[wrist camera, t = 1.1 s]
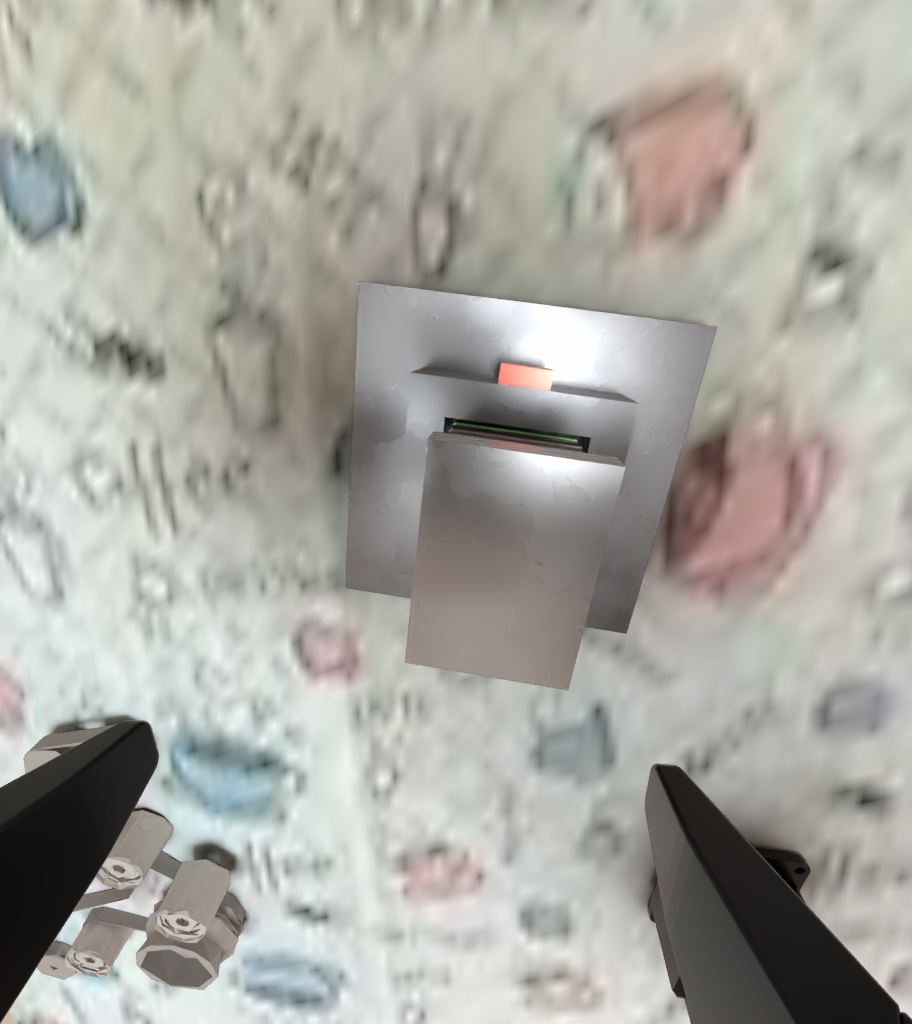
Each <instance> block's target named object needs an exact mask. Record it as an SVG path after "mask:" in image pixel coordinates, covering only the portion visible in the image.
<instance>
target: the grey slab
mask: <svg viewBox="0 0 912 1024" xmlns="http://www.w3.org/2000/svg"><path fill="white" fill-rule="evenodd" d="M577 441H578V439H577V438H576V436H575V435H570V434H563V433H556V432H549V431H542V430H535V429H528V428H521V427H514V426H507V425H500V424H492V423H485V422H478V421H471V420H464V419H456V420H455V422H454V426H452V428H451V432H450V433H443V432H436V431H433V433H432V434H431V435H430V436H429V438H428V441H427V451H426V461H425V471H424V481H423V490H422V500H421V510H420V520H419V530H418V540H417V549H416V559H415V569H414V579H413V589H412V599H411V608H410V618H409V628H408V638H407V648H406V658H405V663H410V664H416V665H422V666H428V667H434V668H440V669H446V670H452V671H457V672H463V673H469V674H475V675H481V676H487V677H493V678H499V679H505V680H510V681H516V682H522V683H528V684H534V685H540V686H546V687H552V688H558V689H563V690H568V689H569V685H570V681H571V677H572V673H573V669H574V665H575V662H576V658H577V654H578V650H579V646H580V642H581V638H582V634H583V631H584V627H585V623H586V619H587V615H588V611H589V607H590V603H591V600H592V596H593V592H594V588H595V584H596V580H597V576H598V572H599V569H600V565H601V561H602V557H603V553H604V549H605V545H606V541H607V537H608V534H609V530H610V526H611V522H612V518H613V514H614V510H615V506H616V503H617V499H618V495H619V491H620V487H621V483H622V479H623V475H624V472H625V468H626V467H625V466H624V465H623V464H622V462H621V461H620V460H619V459H618V458H617V457H611V456H604V455H597V454H590V453H584V452H583V451H582V446H581V445H580V444H578V443H577Z"/></svg>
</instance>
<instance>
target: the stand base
mask: <svg viewBox="0 0 912 1024" xmlns="http://www.w3.org/2000/svg"><path fill="white" fill-rule="evenodd" d="M716 330H717V327H715V326H708V325H700V324H692V323H684V322H676V321H668V320H660V319H652V318H644V317H637V316H629V315H621V314H613V313H605V312H597V311H589V310H581V309H573V308H566V307H558V306H550V305H542V304H534V303H526V302H518V301H510V300H502V299H495V298H487V297H479V296H471V295H463V294H455V293H447V292H439V291H431V290H424V289H416V288H408V287H400V286H392V285H384V284H376V283H368V282H360V281H359V292H358V315H357V337H356V360H355V383H354V405H353V428H352V451H351V473H350V496H349V519H348V542H347V564H346V587H345V588H350V589H356V590H362V591H368V592H374V593H380V594H386V595H393V596H399V597H405V598H411V599H412V589H413V579H414V569H415V559H416V549H417V540H418V530H419V520H420V510H421V500H422V490H423V481H424V471H425V461H426V451H427V441H428V438H429V436H430V435H431V434H432V433H433V431H436V432H443V433H450V432H451V428H452V426H454V422H455V420H456V419H464V420H471V421H478V422H485V423H492V424H500V425H507V426H514V427H521V428H528V429H535V430H542V431H549V432H556V433H563V434H570V435H575V436H576V438H577V439H578V441H577V443H578V444H580V445H581V446H582V451H583V452H584V453H590V454H597V455H604V456H611V457H617V458H618V459H619V460H620V461H621V462H622V464H623V465H624V466H625V467H626V468H625V472H624V475H623V479H622V483H621V487H620V491H619V495H618V499H617V503H616V506H615V510H614V514H613V518H612V522H611V526H610V530H609V534H608V537H607V541H606V545H605V549H604V553H603V557H602V561H601V565H600V569H599V572H598V576H597V580H596V584H595V588H594V592H593V596H592V600H591V603H590V607H589V611H588V615H587V619H586V623H585V627H590V628H596V629H602V630H608V631H614V632H620V633H627V630H628V627H629V623H630V620H631V617H632V613H633V610H634V606H635V603H636V600H637V596H638V593H639V590H640V586H641V583H642V579H643V576H644V573H645V569H646V566H647V563H648V559H649V556H650V553H651V549H652V546H653V542H654V539H655V536H656V532H657V529H658V526H659V522H660V519H661V516H662V512H663V509H664V505H665V502H666V499H667V495H668V492H669V489H670V485H671V482H672V478H673V475H674V472H675V468H676V465H677V462H678V458H679V455H680V452H681V448H682V445H683V441H684V438H685V435H686V431H687V428H688V425H689V421H690V418H691V414H692V411H693V408H694V404H695V401H696V398H697V394H698V391H699V388H700V384H701V381H702V377H703V374H704V371H705V367H706V364H707V361H708V357H709V354H710V351H711V347H712V344H713V340H714V337H715V334H716Z"/></svg>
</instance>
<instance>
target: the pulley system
mask: <svg viewBox="0 0 912 1024" xmlns="http://www.w3.org/2000/svg"><path fill="white" fill-rule="evenodd" d="M112 726H114V725H111V726H106V727H99V728H92V729H85V730H78V731H71V732H64V733H58V732H57V733H53V734H50V735H47V736H45V737H43V738H42V739H41V740H40V741H39V742H38V743H37V744H36V745H35V746H34V747H33V748H32V749H31V750H30V751H29V752H27V753H26V754H25V755H24V756H25V757H24V766H25V773H28V772H30V771H32V770H34V769H35V768H37V767H39V766H41V765H43V764H44V763H46V762H48V761H50V760H52V759H54V758H55V757H57V756H59V755H61V754H63V753H64V752H66V751H68V750H70V749H72V748H74V747H75V746H77V745H79V744H81V743H83V742H85V741H86V740H88V739H90V738H92V737H94V736H95V735H97V734H99V733H101V732H103V731H105V730H106V729H108V728H110V727H112ZM172 831H173V826H172V825H171V824H170V823H169V822H167V821H166V820H165V819H164V818H163V817H161V816H158V815H155V814H153V813H150V812H147V811H144V810H140V811H133V812H132V814H131V815H130V817H129V819H128V821H127V823H126V825H125V827H124V828H123V830H122V832H121V834H120V836H119V838H118V840H117V841H116V843H115V845H114V847H113V848H112V850H111V852H110V854H109V855H108V857H107V859H106V860H105V862H104V864H103V865H102V867H101V869H100V870H99V872H98V873H97V875H96V876H95V877H96V878H97V879H98V880H99V881H101V882H102V883H103V884H104V885H107V886H110V887H113V888H114V889H110V890H106V891H101V892H97V893H92V894H88V895H84V896H83V897H82V898H81V900H80V901H79V903H78V904H77V906H76V907H75V909H74V910H73V912H74V911H78V910H82V909H87V908H91V907H95V906H99V905H103V904H107V903H112V902H116V901H120V900H124V899H128V898H129V897H130V895H131V894H132V892H133V890H134V889H135V888H137V887H138V886H139V885H140V884H141V883H142V882H143V880H144V878H145V876H146V874H147V872H148V870H149V869H150V868H151V869H153V870H155V871H157V872H159V873H161V874H163V875H165V876H167V877H169V878H171V879H173V882H172V884H171V886H170V888H169V890H168V892H167V894H166V896H165V898H164V899H163V900H162V901H160V902H158V903H156V904H155V905H154V913H152V914H150V916H149V918H147V917H143V916H139V915H135V914H132V913H128V912H124V911H120V910H116V909H113V908H109V907H101V908H94V909H92V911H91V912H90V914H89V916H88V918H87V919H86V921H85V923H84V924H83V928H82V930H81V932H80V933H79V935H78V937H77V938H76V940H75V942H74V943H73V945H72V946H70V945H68V944H66V943H64V942H56V941H53V943H52V945H51V946H50V948H49V949H48V951H47V952H46V954H45V955H44V957H43V958H42V960H41V962H40V963H39V965H38V966H37V968H38V969H39V971H40V972H41V973H42V974H46V975H49V976H53V977H56V978H60V979H63V980H65V979H67V978H69V977H71V976H72V975H74V974H76V972H77V971H78V972H80V973H82V974H85V975H89V976H94V977H98V978H99V977H103V976H106V975H107V974H108V972H109V971H110V970H111V968H112V966H113V963H114V962H115V960H116V958H117V957H118V955H119V953H120V951H121V950H122V948H123V946H124V945H125V943H126V941H127V940H128V938H129V936H130V935H131V933H132V931H133V929H134V930H139V931H144V932H146V934H147V941H146V942H145V943H144V944H143V945H142V947H141V948H140V949H139V950H138V952H137V953H136V961H137V966H138V967H139V968H140V969H141V970H142V971H143V972H144V973H145V974H146V975H147V976H149V977H150V978H151V979H152V980H155V981H158V982H161V983H163V984H166V985H169V986H172V987H181V988H190V989H199V990H204V989H205V988H206V987H207V986H208V985H210V984H211V983H212V982H213V981H214V980H215V979H216V978H217V977H218V973H219V966H220V963H222V962H223V961H224V960H226V959H227V958H229V957H230V956H231V955H233V953H234V950H235V947H236V944H237V941H238V936H239V935H240V934H241V933H242V931H243V930H244V929H243V927H242V924H243V920H244V916H245V910H244V909H243V907H242V906H241V904H240V903H239V902H238V900H237V899H236V898H235V896H234V895H232V894H231V893H229V892H228V891H227V890H228V888H229V886H230V874H229V870H227V869H225V868H223V867H221V866H219V865H217V864H215V863H213V862H211V861H209V860H207V859H204V860H195V861H185V862H182V863H181V862H179V861H177V860H175V859H173V858H171V857H169V856H167V855H165V854H163V853H161V850H162V849H163V847H164V846H165V844H166V843H167V841H168V840H169V838H170V837H171V834H172Z"/></svg>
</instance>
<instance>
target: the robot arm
mask: <svg viewBox="0 0 912 1024" xmlns="http://www.w3.org/2000/svg"><path fill="white" fill-rule="evenodd" d="M158 759H159V753H158V749H157V746H156V742H155V739H154V735H153V732H152V728H151V726H150V724H149V723H148V722H146V721H140V720H124V721H121V722H119V723H117V724H115V725H114V726H112V727H110V728H108V729H106V730H105V731H103V732H101V733H99V734H97V735H95V736H94V737H92V738H90V739H88V740H86V741H85V742H83V743H81V744H79V745H77V746H75V747H74V748H72V749H70V750H68V751H66V752H64V753H63V754H61V755H59V756H57V757H55V758H54V759H52V760H50V761H48V762H46V763H44V764H43V765H41V766H39V767H37V768H35V769H34V770H32V771H30V772H28V773H26V774H24V775H23V776H21V777H19V778H17V779H15V780H13V781H12V782H10V783H8V784H6V785H4V786H3V787H1V788H0V1023H1V1022H2V1020H3V1019H4V1017H5V1016H6V1014H7V1013H8V1011H9V1009H10V1008H11V1006H12V1005H13V1003H14V1002H15V1000H16V999H17V997H18V996H19V994H20V992H21V991H22V989H23V988H24V986H25V985H26V983H27V982H28V980H29V979H30V977H31V975H32V974H33V972H34V971H35V969H36V968H37V966H38V965H39V963H40V962H41V960H42V958H43V957H44V955H45V954H46V952H47V951H48V949H49V948H50V946H51V945H52V943H53V941H54V940H55V938H56V937H57V935H58V934H59V932H60V931H61V929H62V927H63V926H64V924H65V923H66V921H67V920H68V918H69V917H70V915H71V914H72V912H73V910H74V909H75V907H76V906H77V904H78V903H79V901H80V900H81V898H82V897H83V895H84V893H85V892H86V890H87V889H88V887H89V886H90V884H91V883H92V881H93V880H94V878H95V876H96V875H97V873H98V872H99V870H100V869H101V867H102V865H103V864H104V862H105V860H106V859H107V857H108V855H109V854H110V852H111V850H112V848H113V847H114V845H115V843H116V841H117V840H118V838H119V836H120V834H121V832H122V830H123V828H124V827H125V825H126V823H127V821H128V819H129V817H130V815H131V814H132V812H133V810H134V808H135V806H136V804H137V803H138V801H139V799H140V797H141V795H142V793H143V791H144V790H145V788H146V786H147V784H148V782H149V780H150V778H151V777H152V775H153V773H154V771H155V769H156V767H157V764H158ZM645 813H646V819H647V824H648V830H649V835H650V841H651V846H652V852H653V857H654V863H655V868H656V874H657V879H658V882H657V884H656V887H655V889H654V891H653V894H652V896H651V899H650V904H649V907H648V913H649V917H650V919H651V921H653V922H655V923H656V927H657V931H658V935H659V939H660V943H661V947H662V951H663V956H664V960H665V964H666V968H667V972H668V976H669V980H670V984H671V988H672V990H673V992H674V993H675V995H676V996H677V997H679V998H684V1000H685V1003H686V1007H687V1011H688V1015H689V1019H690V1022H691V1024H912V1019H911V1018H910V1017H909V1016H908V1015H907V1014H906V1013H904V1012H901V1013H900V1008H899V1006H898V1004H897V1003H896V1002H895V1001H894V1000H893V999H892V997H891V996H890V995H889V994H888V993H887V992H886V991H885V990H884V989H883V988H882V987H881V985H880V984H879V983H878V982H877V981H876V980H875V979H874V978H873V977H872V976H871V975H870V973H869V972H868V971H867V970H866V969H865V968H864V967H863V966H862V965H861V964H860V963H859V961H858V960H857V959H856V958H855V957H854V956H853V955H852V954H851V953H850V952H849V951H848V950H847V948H846V947H845V946H844V945H843V944H842V943H841V942H840V941H839V940H838V939H837V938H836V936H835V935H834V934H833V933H832V932H831V931H830V930H829V929H828V928H827V927H826V926H825V924H824V923H823V922H822V921H821V920H820V919H819V918H818V917H817V916H816V915H815V914H814V912H813V911H812V910H811V909H810V908H809V907H808V906H807V905H806V903H805V901H804V899H803V897H802V895H801V893H800V891H799V890H800V889H801V887H802V885H803V884H804V882H805V880H806V878H807V877H808V875H809V873H810V867H809V865H808V864H807V862H806V860H805V859H804V858H803V857H800V856H796V855H791V854H785V853H780V852H774V851H769V850H763V849H758V848H754V847H753V846H752V845H751V844H750V843H749V842H748V840H747V839H746V838H745V837H744V836H743V835H742V834H741V833H740V832H739V831H738V830H737V828H736V827H735V826H734V825H733V824H732V823H731V822H730V821H729V820H728V819H727V818H726V816H725V815H724V814H723V813H722V812H721V811H720V810H719V809H718V808H717V807H716V806H715V804H714V803H713V802H712V801H711V800H710V799H709V798H708V797H707V796H706V795H705V794H704V792H703V791H702V790H701V789H700V788H699V787H698V786H697V785H696V784H695V783H694V782H693V780H692V779H691V778H690V777H689V776H688V775H687V774H686V773H685V772H684V771H683V770H682V769H681V768H680V767H678V766H676V765H667V764H654V765H653V766H652V768H651V771H650V776H649V781H648V786H647V791H646V796H645Z"/></svg>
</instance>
